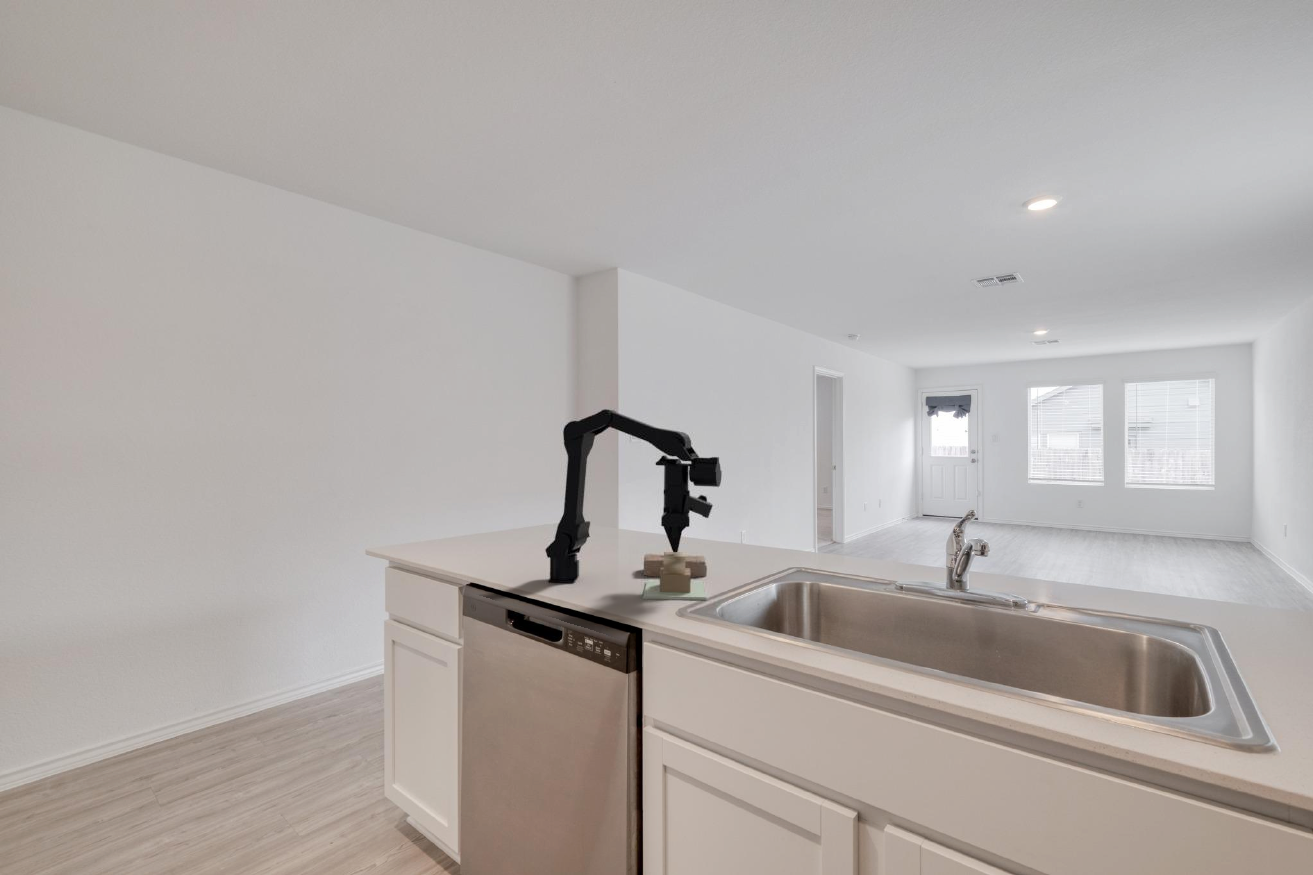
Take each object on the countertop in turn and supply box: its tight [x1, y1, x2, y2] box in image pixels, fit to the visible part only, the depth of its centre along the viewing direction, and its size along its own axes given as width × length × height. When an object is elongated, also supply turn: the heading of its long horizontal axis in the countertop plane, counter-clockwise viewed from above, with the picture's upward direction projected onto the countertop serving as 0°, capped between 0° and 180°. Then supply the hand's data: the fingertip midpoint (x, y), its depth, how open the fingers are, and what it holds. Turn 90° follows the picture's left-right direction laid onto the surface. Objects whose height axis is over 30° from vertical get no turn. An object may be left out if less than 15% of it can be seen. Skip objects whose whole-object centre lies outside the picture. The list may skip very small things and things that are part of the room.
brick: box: [643, 553, 708, 578], centre depth 154 cm, size 17×8×5 cm, turn 90°
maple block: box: [663, 551, 686, 574], centre depth 135 cm, size 5×5×4 cm
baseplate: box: [642, 568, 707, 601], centre depth 135 cm, size 14×14×5 cm
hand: (675, 551), depth 135 cm, fingers closed
